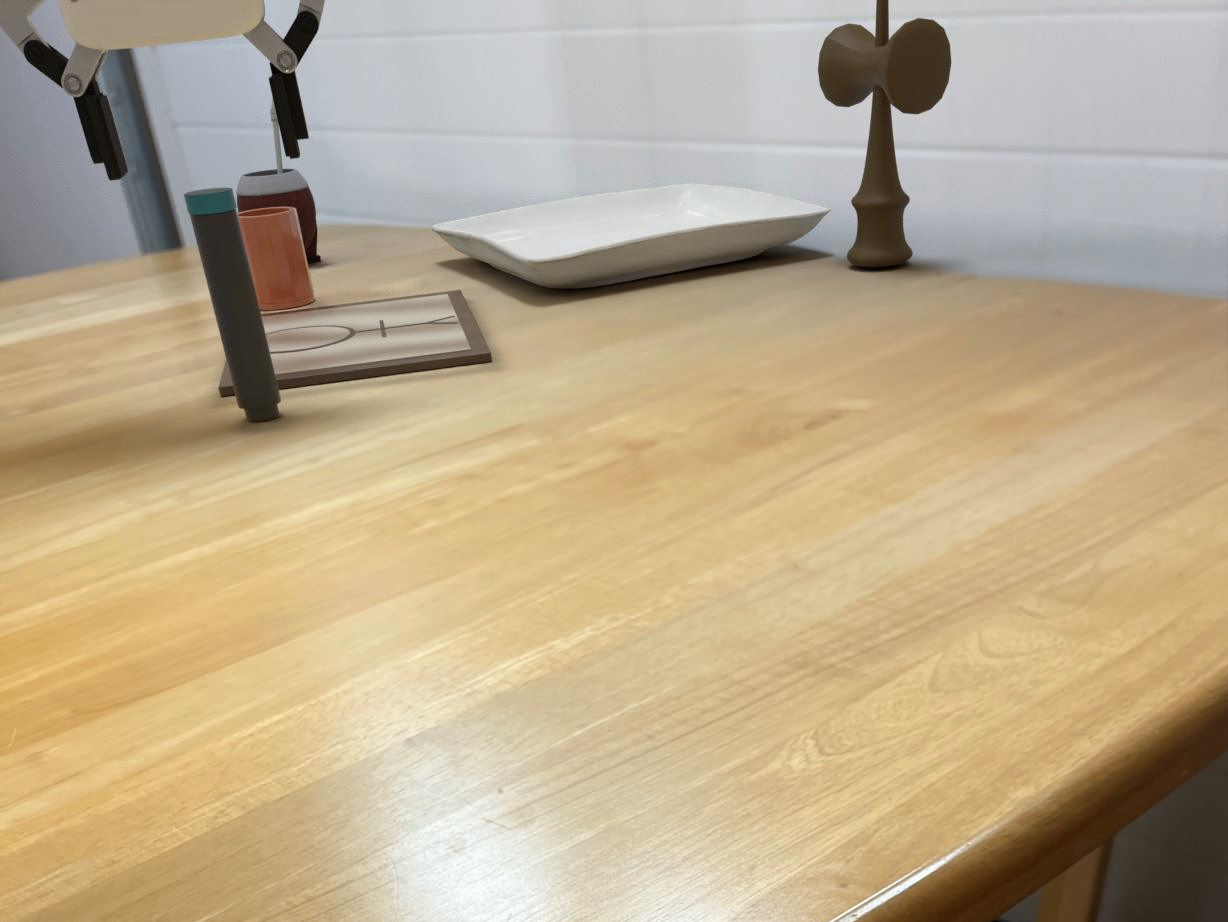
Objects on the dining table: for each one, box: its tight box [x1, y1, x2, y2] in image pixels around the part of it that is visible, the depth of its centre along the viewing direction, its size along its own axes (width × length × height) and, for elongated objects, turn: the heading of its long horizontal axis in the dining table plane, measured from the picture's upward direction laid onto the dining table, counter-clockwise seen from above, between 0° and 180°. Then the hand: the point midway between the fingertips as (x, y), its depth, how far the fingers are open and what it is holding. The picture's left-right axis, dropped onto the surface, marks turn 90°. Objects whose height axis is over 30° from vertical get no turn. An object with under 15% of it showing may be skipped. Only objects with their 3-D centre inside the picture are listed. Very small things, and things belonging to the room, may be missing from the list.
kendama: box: [817, 0, 952, 268], centre depth 102 cm, size 6×10×20 cm, turn 31°
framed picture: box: [218, 289, 493, 397], centre depth 99 cm, size 24×18×1 cm
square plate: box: [431, 182, 831, 290], centre depth 118 cm, size 27×27×4 cm
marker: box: [183, 187, 282, 423], centre depth 80 cm, size 3×3×12 cm
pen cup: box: [237, 207, 316, 311], centre depth 112 cm, size 5×5×7 cm
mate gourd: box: [235, 96, 322, 264], centre depth 126 cm, size 8×8×15 cm
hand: (207, 166), depth 75 cm, fingers open, 9 cm apart
